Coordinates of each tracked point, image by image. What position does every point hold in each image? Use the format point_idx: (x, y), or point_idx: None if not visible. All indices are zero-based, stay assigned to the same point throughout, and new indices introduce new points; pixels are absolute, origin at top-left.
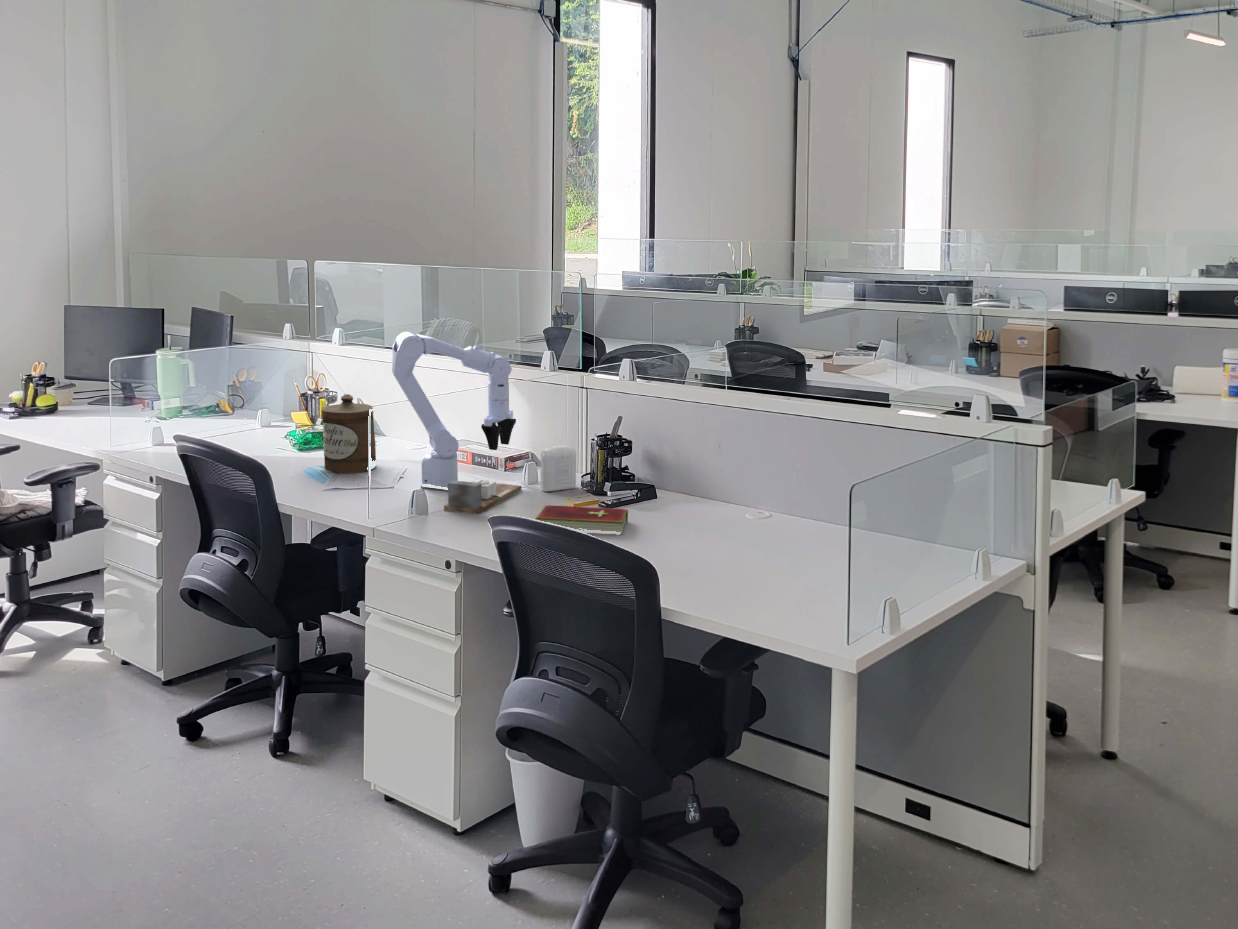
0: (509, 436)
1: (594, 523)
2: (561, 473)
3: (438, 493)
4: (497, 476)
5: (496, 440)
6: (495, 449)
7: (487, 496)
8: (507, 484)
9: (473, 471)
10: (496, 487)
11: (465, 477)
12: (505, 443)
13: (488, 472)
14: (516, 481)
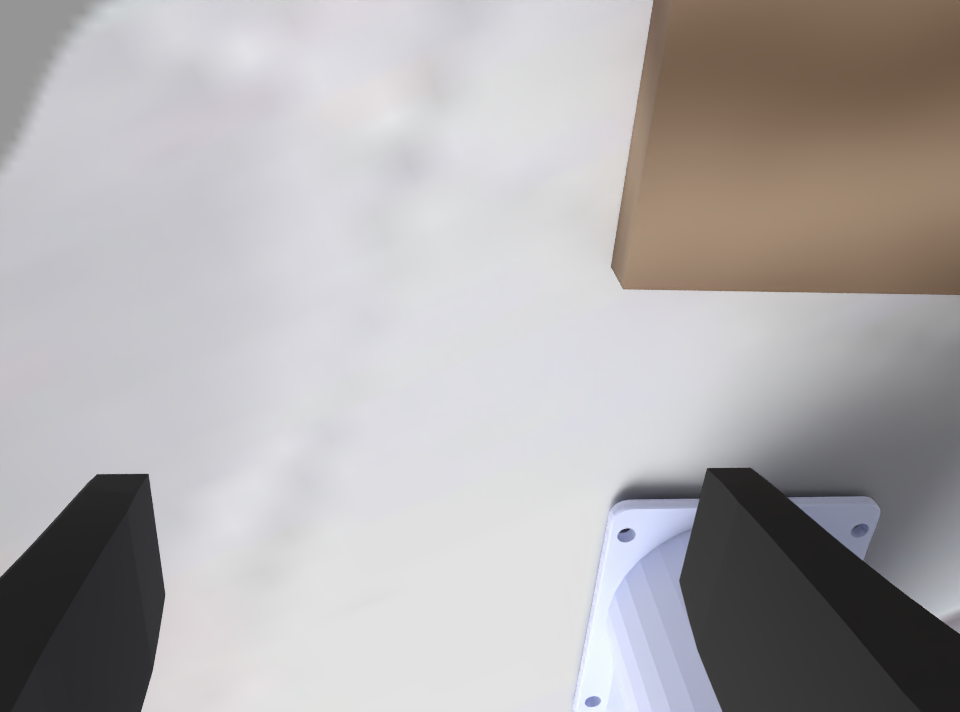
0: (71, 588)
1: None
2: None
3: (936, 547)
4: (126, 360)
5: (914, 606)
6: (764, 483)
7: None
8: (671, 23)
9: None
10: (850, 102)
11: (326, 595)
12: (148, 533)
13: (14, 507)
14: (243, 45)
